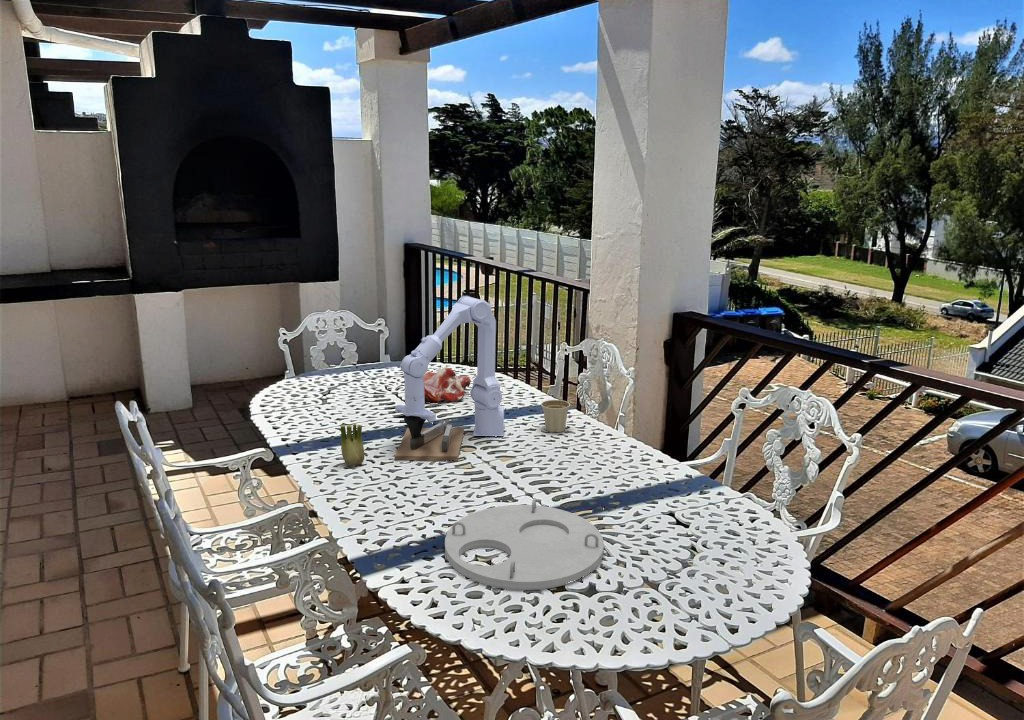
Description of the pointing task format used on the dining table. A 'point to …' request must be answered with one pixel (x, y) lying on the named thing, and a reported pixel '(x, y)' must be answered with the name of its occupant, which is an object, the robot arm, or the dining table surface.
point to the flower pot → (555, 414)
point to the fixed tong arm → (446, 438)
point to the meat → (444, 386)
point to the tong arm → (428, 434)
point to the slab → (526, 546)
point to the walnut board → (431, 448)
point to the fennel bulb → (352, 445)
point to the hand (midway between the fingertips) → (415, 439)
